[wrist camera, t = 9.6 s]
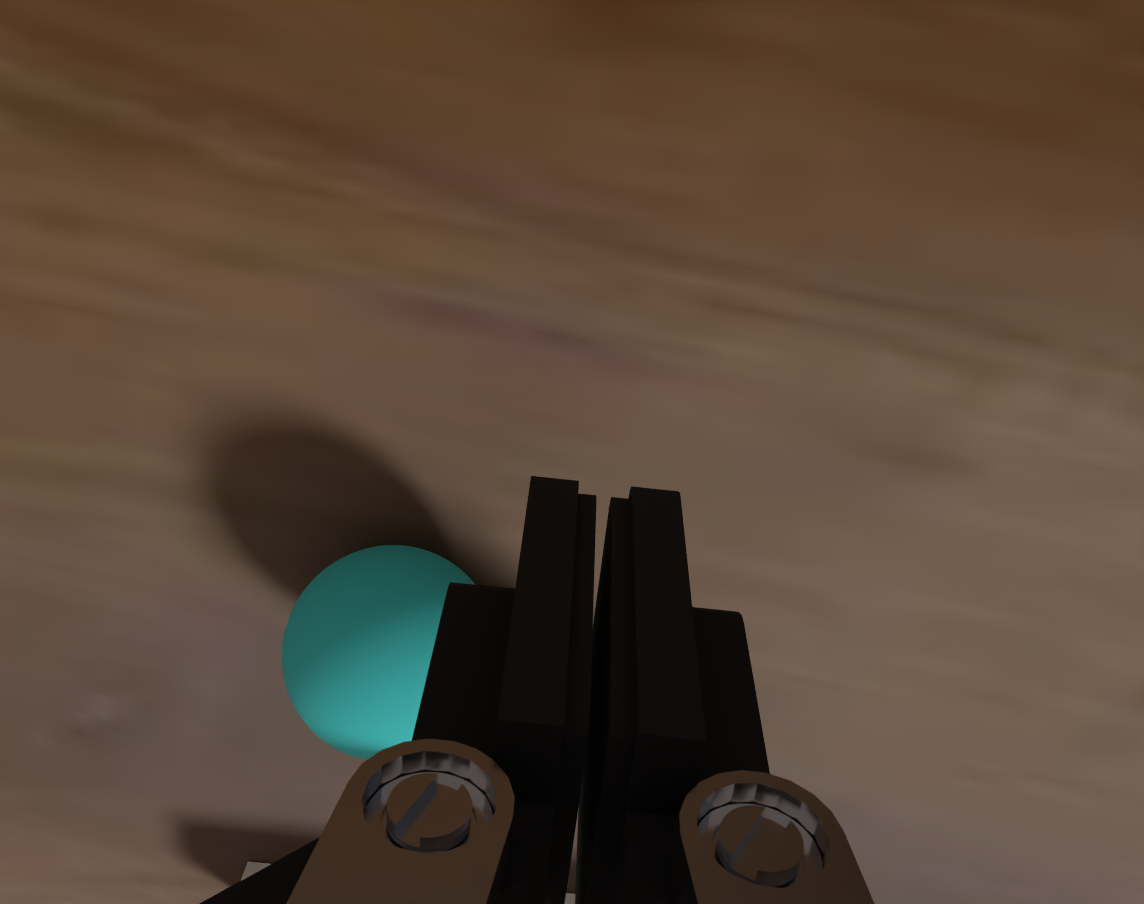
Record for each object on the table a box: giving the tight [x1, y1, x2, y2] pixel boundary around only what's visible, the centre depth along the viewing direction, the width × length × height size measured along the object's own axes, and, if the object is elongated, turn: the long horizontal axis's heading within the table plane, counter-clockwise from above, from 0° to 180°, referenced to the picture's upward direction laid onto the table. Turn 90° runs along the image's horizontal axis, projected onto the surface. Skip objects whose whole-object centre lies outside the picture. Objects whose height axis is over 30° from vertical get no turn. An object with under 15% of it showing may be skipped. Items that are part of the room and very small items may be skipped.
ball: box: [282, 545, 476, 760], centre depth 31 cm, size 6×6×6 cm
